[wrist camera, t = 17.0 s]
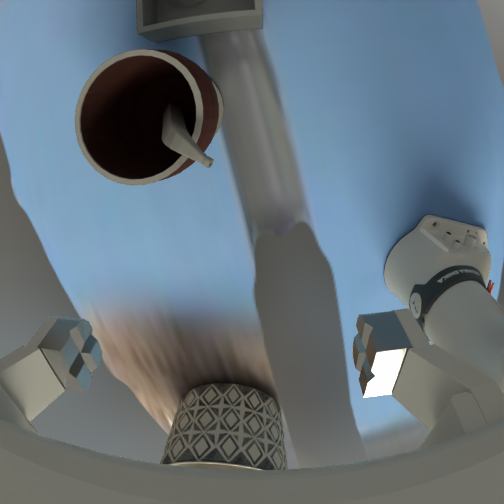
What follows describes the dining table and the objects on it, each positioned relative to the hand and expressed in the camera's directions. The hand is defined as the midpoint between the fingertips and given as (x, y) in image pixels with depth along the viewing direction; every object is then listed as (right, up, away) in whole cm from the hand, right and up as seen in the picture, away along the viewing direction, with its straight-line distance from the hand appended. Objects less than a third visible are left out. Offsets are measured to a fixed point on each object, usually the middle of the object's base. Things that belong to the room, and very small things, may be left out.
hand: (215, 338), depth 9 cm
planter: (-4, -34, +59) cm, 68 cm away
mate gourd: (-8, +22, +31) cm, 39 cm away
